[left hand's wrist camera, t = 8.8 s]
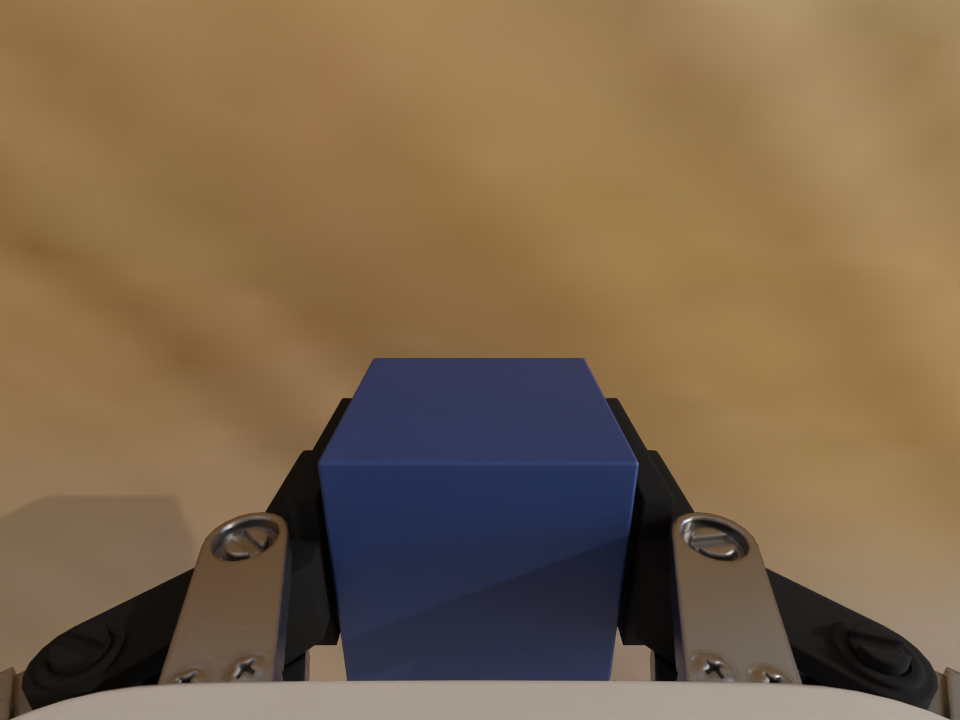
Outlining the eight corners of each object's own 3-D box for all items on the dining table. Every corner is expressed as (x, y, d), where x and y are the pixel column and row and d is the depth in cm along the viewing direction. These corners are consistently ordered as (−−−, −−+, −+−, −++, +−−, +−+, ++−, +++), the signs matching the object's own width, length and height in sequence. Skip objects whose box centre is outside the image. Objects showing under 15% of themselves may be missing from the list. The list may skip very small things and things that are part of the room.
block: (387, 531, 14) (347, 692, 9) (372, 356, 12) (316, 462, 8) (570, 532, 14) (609, 692, 9) (584, 356, 12) (640, 461, 8)
